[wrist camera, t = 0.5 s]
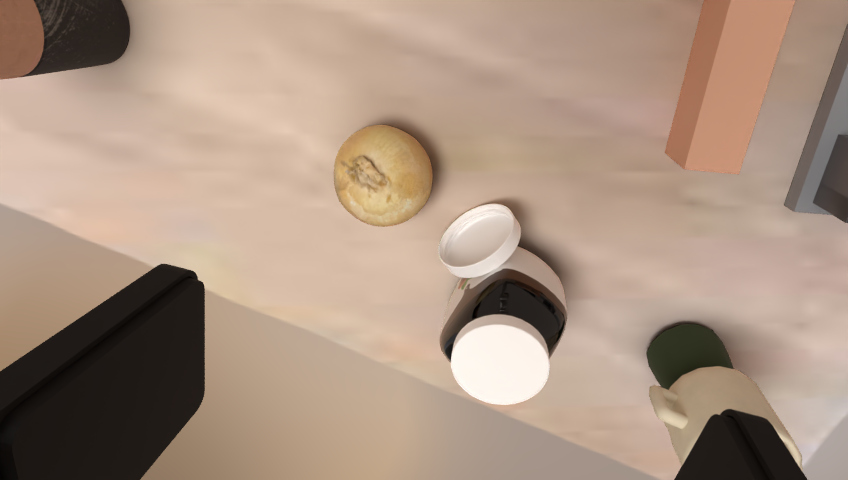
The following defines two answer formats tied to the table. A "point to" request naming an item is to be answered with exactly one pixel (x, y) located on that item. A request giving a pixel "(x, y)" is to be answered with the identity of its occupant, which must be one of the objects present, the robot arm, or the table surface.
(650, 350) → the character mug
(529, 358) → the spread jar
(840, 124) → the board
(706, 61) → the slat
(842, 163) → the end caps
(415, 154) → the onion
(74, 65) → the travel mug
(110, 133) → the table surface
